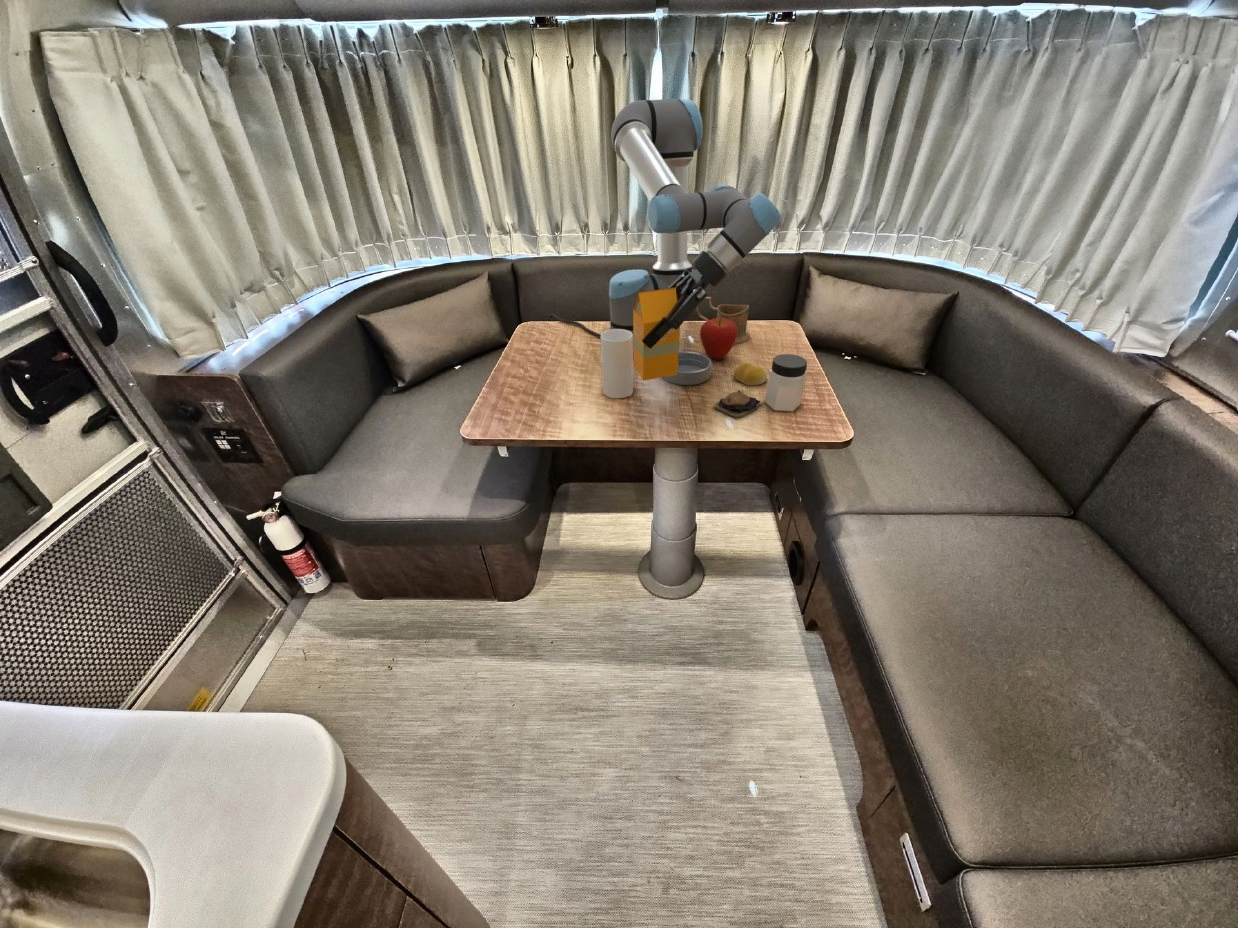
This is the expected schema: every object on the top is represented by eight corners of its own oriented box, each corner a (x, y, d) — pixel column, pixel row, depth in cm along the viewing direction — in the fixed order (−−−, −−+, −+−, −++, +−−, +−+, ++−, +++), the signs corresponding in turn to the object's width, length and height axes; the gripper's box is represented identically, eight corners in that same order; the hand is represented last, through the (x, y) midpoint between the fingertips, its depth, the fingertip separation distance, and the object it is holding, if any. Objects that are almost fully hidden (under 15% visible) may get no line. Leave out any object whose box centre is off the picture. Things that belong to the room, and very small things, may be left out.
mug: (699, 326, 182) (702, 291, 175) (751, 332, 176) (756, 296, 169) (689, 338, 173) (691, 302, 166) (743, 346, 167) (748, 308, 160)
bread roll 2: (737, 420, 131) (739, 407, 128) (711, 407, 136) (712, 395, 134) (764, 405, 136) (766, 393, 134) (738, 394, 141) (739, 381, 139)
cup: (611, 401, 140) (609, 343, 131) (598, 388, 146) (595, 332, 137) (638, 393, 143) (638, 337, 134) (624, 381, 149) (623, 326, 140)
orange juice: (677, 375, 128) (682, 293, 115) (643, 381, 126) (643, 299, 113) (666, 360, 133) (669, 281, 121) (633, 365, 132) (632, 286, 119)
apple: (701, 348, 166) (704, 310, 159) (736, 351, 164) (740, 313, 157) (695, 363, 158) (698, 324, 150) (732, 367, 155) (736, 327, 148)
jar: (806, 408, 134) (815, 365, 127) (778, 415, 132) (786, 370, 125) (785, 393, 141) (793, 351, 134) (759, 399, 139) (765, 356, 132)
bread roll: (754, 389, 143) (756, 375, 141) (728, 378, 149) (729, 365, 147) (772, 379, 148) (775, 366, 145) (747, 369, 153) (748, 356, 151)
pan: (651, 373, 153) (651, 360, 151) (687, 360, 159) (688, 347, 157) (683, 391, 144) (684, 377, 141) (721, 376, 150) (722, 363, 148)
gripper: (741, 288, 109) (662, 366, 117) (713, 260, 126) (646, 329, 134) (718, 263, 105) (638, 345, 113) (693, 237, 122) (625, 310, 130)
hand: (642, 336), depth 123 cm, fingers closed on orange juice, 8 cm apart
